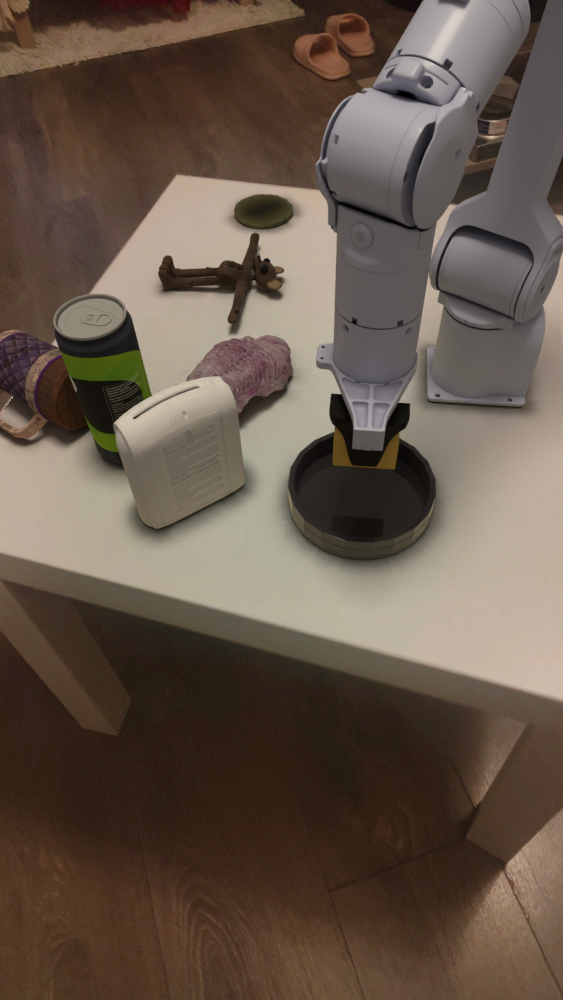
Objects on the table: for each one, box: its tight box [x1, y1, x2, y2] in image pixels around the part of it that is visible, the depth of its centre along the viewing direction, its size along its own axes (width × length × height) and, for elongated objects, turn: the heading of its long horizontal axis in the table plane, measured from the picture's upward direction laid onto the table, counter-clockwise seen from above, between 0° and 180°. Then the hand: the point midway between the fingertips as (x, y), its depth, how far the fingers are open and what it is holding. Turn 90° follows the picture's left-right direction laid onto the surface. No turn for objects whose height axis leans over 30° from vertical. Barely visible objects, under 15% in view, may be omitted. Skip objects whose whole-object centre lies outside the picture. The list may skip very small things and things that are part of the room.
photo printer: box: [113, 376, 246, 530], centre depth 55 cm, size 10×4×12 cm, turn 123°
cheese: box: [333, 426, 400, 470], centre depth 53 cm, size 5×3×3 cm
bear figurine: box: [157, 232, 285, 325], centre depth 78 cm, size 18×4×14 cm
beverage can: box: [52, 292, 153, 465], centre depth 58 cm, size 6×6×15 cm
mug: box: [0, 328, 88, 439], centre depth 65 cm, size 10×7×12 cm
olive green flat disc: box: [233, 193, 294, 230], centre depth 89 cm, size 8×8×1 cm
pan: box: [287, 431, 437, 561], centre depth 58 cm, size 13×13×3 cm
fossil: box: [185, 334, 294, 415], centre depth 66 cm, size 8×14×5 cm, turn 144°
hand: (365, 444), depth 53 cm, fingers closed on cheese, 3 cm apart
